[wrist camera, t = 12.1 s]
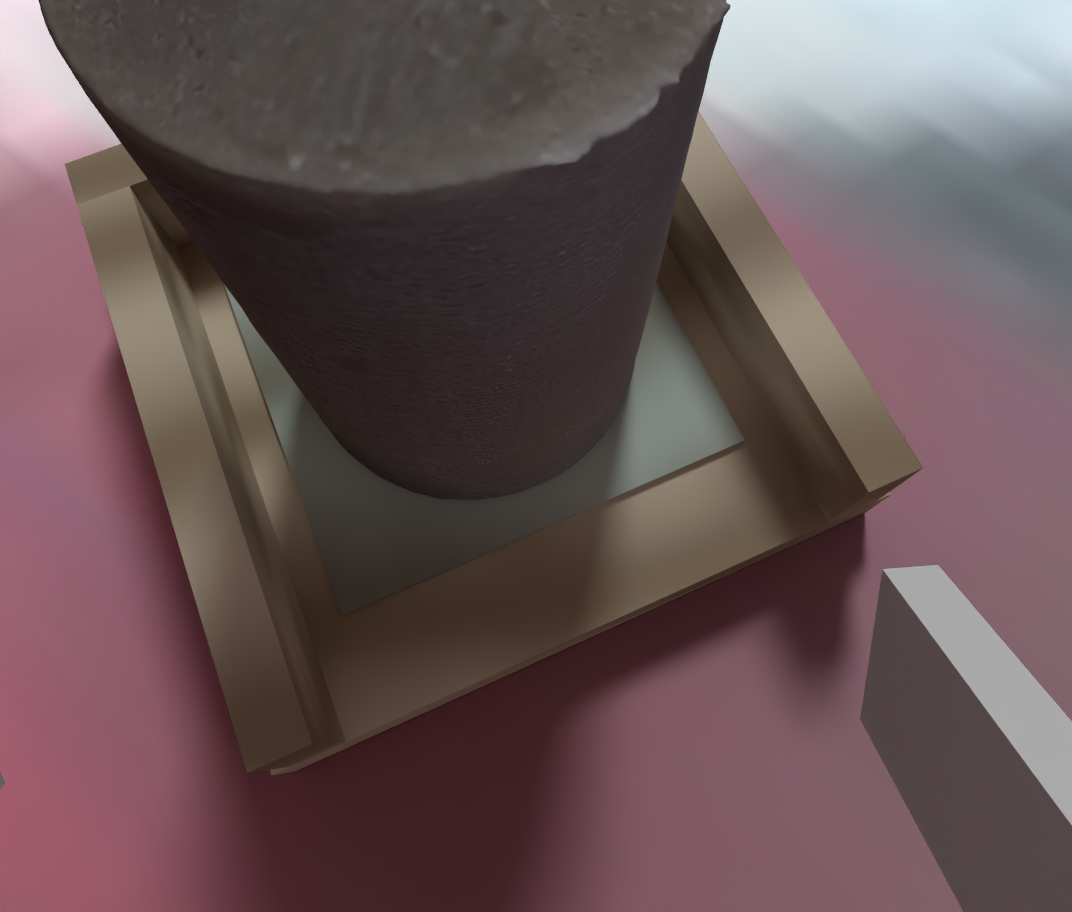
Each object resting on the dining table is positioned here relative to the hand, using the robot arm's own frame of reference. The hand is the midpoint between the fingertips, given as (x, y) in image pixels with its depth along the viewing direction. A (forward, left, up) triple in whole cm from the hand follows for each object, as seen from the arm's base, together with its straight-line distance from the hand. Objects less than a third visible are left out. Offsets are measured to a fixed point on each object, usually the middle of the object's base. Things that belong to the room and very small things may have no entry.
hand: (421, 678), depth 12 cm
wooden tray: (-10, +4, -12) cm, 15 cm away
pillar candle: (-9, +4, -10) cm, 14 cm away
